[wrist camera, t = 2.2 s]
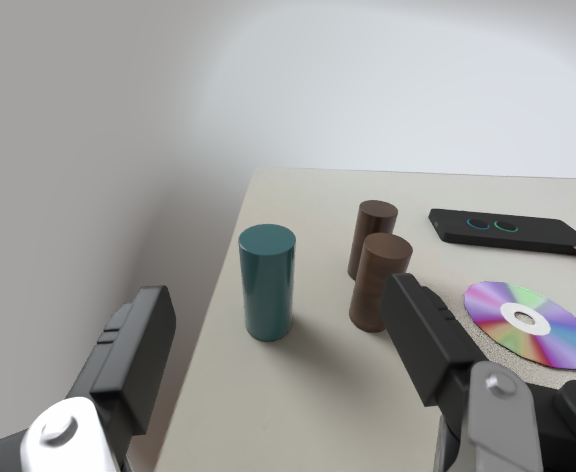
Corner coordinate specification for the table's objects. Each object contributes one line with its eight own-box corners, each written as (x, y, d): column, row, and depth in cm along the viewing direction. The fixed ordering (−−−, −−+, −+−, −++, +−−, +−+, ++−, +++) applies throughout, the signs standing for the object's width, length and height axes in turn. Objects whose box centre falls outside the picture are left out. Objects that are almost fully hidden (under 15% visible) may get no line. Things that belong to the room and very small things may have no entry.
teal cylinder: (239, 337, 26) (230, 251, 21) (252, 301, 30) (247, 221, 24) (287, 344, 26) (291, 258, 20) (294, 307, 29) (299, 226, 24)
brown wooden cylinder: (349, 329, 27) (366, 256, 22) (348, 299, 31) (362, 230, 26) (391, 335, 27) (417, 261, 22) (385, 304, 30) (407, 235, 25)
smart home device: (430, 206, 47) (560, 218, 44) (427, 215, 48) (554, 227, 45) (446, 232, 40) (601, 247, 38) (442, 242, 41) (592, 257, 39)
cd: (443, 283, 33) (443, 283, 33) (529, 279, 34) (530, 279, 34) (516, 374, 24) (516, 373, 24) (632, 365, 25) (633, 364, 24)
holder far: (347, 281, 33) (360, 215, 28) (347, 261, 36) (358, 198, 31) (382, 285, 33) (401, 219, 28) (378, 264, 36) (394, 201, 31)
